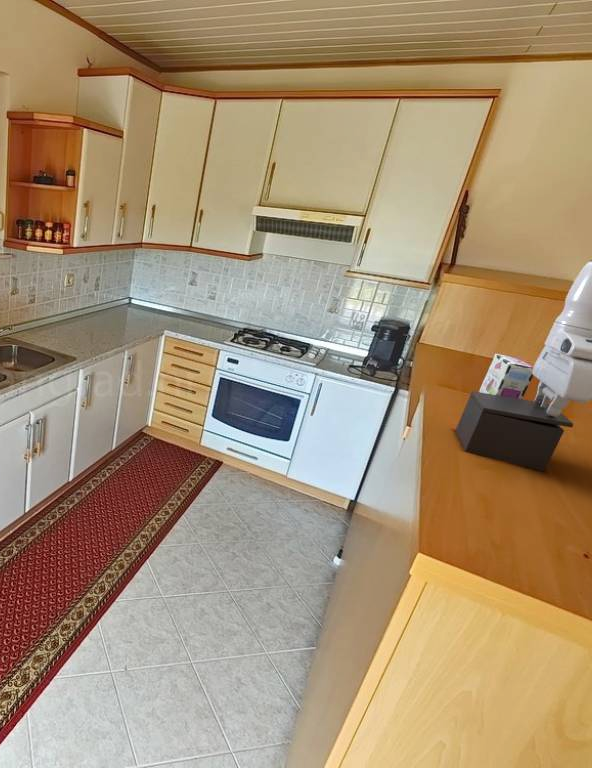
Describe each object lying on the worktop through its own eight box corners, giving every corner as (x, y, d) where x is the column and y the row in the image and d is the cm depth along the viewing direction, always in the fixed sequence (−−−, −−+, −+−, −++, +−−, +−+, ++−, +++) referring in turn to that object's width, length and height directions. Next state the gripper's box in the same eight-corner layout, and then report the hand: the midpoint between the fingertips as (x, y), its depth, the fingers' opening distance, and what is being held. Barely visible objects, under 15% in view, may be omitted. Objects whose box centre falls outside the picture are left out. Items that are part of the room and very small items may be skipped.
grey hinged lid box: (525, 448, 104) (543, 410, 101) (544, 471, 94) (564, 430, 91) (455, 430, 110) (470, 394, 107) (465, 451, 99) (482, 411, 96)
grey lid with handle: (550, 407, 101) (559, 384, 99) (572, 427, 90) (582, 401, 88) (470, 394, 107) (477, 372, 105) (482, 411, 96) (490, 387, 94)
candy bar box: (506, 437, 109) (538, 368, 103) (479, 431, 111) (509, 363, 105) (491, 421, 118) (520, 357, 113) (467, 415, 120) (493, 352, 115)
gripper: (540, 330, 101) (511, 391, 106) (576, 348, 84) (540, 420, 89) (579, 336, 99) (548, 399, 103) (625, 357, 82) (585, 431, 86)
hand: (545, 409), depth 96 cm, fingers closed on grey lid with handle, 6 cm apart
